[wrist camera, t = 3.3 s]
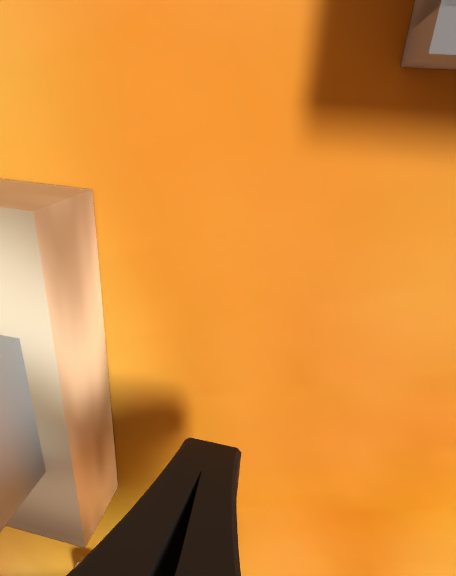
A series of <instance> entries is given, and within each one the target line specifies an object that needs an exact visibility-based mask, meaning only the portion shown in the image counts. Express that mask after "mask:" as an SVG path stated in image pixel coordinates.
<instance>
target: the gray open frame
mask: <svg viewBox="0 0 456 576" xmlns="http://www.w3.org/2000/svg"><path fill="white" fill-rule="evenodd" d="M401 67H414V68H433V69H453V70H456V0H415V3H414V8H413V12H412V17H411V22H410V26H409V31H408V35H407V40H406V44H405V49H404V54H403V58H402V63H401Z"/></svg>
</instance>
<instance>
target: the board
mask: <svg viewBox="0 0 456 576" xmlns="http://www.w3.org/2000/svg"><path fill="white" fill-rule="evenodd" d="M0 335H4V336H9V337H15V338H20V344H21V349H22V354H23V359H24V364H25V369H26V374H27V379H28V384H29V389H30V394H31V399H32V404H33V409H34V415H35V420H36V425H37V430H38V435H39V440H40V445H41V450H42V455H43V460H44V465H45V470H46V472H45V474H44V475H43V476H42V478H41V479H40V480H39V482H38V483H37V484H36V486H35V487H34V488H33V489H32V491H31V492H30V493H29V495H28V496H27V497H26V499H25V500H24V501H23V503H22V504H21V505H20V507H19V508H18V509H17V511H16V512H15V513H14V515H13V516H12V517H11V519H10V520H9V521H8V523H7V524H6V525H5V526H9V527H12V528H16V529H19V530H23V531H26V532H30V533H34V534H37V535H41V536H44V537H48V538H51V539H55V540H58V541H62V542H66V543H69V544H73V545H76V546H80V547H83V548H85V547H86V546H87V544H88V542H89V540H90V538H91V536H92V534H93V533H94V531H95V529H96V527H97V525H98V523H99V521H100V520H101V518H102V516H103V514H104V512H105V510H106V508H107V507H108V505H109V503H110V501H111V499H112V497H113V495H114V493H115V492H116V490H117V488H118V481H117V469H116V458H115V446H114V434H113V423H112V411H111V400H110V388H109V376H108V365H107V353H106V342H105V330H104V319H103V307H102V295H101V284H100V272H99V261H98V249H97V237H96V226H95V214H94V203H93V191H92V189H85V188H76V187H67V186H59V185H50V184H41V183H33V182H24V181H15V180H7V179H0Z"/></svg>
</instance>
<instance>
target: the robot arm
mask: <svg viewBox="0 0 456 576" xmlns="http://www.w3.org/2000/svg"><path fill="white" fill-rule="evenodd" d="M240 459H241V452H240V451H239V449H238V448H235V447H230V446H226V445H221V444H217V443H212V442H208V441H203V440H199V439H194V438H188V439H186V440H185V441H184V443H183V444H182V446H181V447H180V449H179V450H178V451H177V453H176V454H175V456H174V457H173V458H172V460H171V461H170V462H169V464H168V465H167V466H166V468H165V469H164V470H163V471H162V473H161V474H160V475H159V477H158V478H157V479H156V480H155V482H154V483H153V484H152V485H151V486H150V488H149V489H148V490H147V491H146V492H145V493H144V495H143V496H142V497H141V498H140V499H139V501H138V502H137V503H136V504H135V505H134V506H133V508H132V509H131V510H130V511H129V512H128V513H127V514H126V515H125V517H124V518H123V519H122V520H121V521H120V522H119V523H118V524H117V525H116V526H115V527H114V528H113V529H112V530H111V531H110V532H109V534H108V535H107V536H106V537H105V538H104V539H103V540H102V541H101V542H100V543H99V544H98V545H97V546H96V547H95V548H94V549H93V550H92V551H91V552H90V553H89V554H88V555H87V556H86V557H85V558H84V559H83V560H82V561H79V562H77V563H76V565H75V567H74V569H73V570H72V571H71V572H70V573H69V574H67V575H66V576H241V572H240V562H239V550H238V534H237V514H236V497H237V488H238V478H239V469H240Z"/></svg>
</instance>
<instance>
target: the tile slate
mask: <svg viewBox="0 0 456 576" xmlns="http://www.w3.org/2000/svg"><path fill="white" fill-rule="evenodd" d="M45 472H46V470H45V465H44V460H43V455H42V450H41V445H40V440H39V435H38V430H37V425H36V420H35V415H34V409H33V404H32V399H31V394H30V389H29V384H28V379H27V374H26V369H25V364H24V359H23V354H22V349H21V344H20V338H15V337H9V336H4V335H0V532H1V531H2V529H3V528H4V527H5V525H6V524H7V523H8V521H9V520H10V519H11V517H12V516H13V515H14V513H15V512H16V511H17V509H18V508H19V507H20V505H21V504H22V503H23V501H24V500H25V499H26V497H27V496H28V495H29V493H30V492H31V491H32V489H33V488H34V487H35V486H36V484H37V483H38V482H39V480H40V479H41V478H42V476H43V475H44V474H45Z"/></svg>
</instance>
